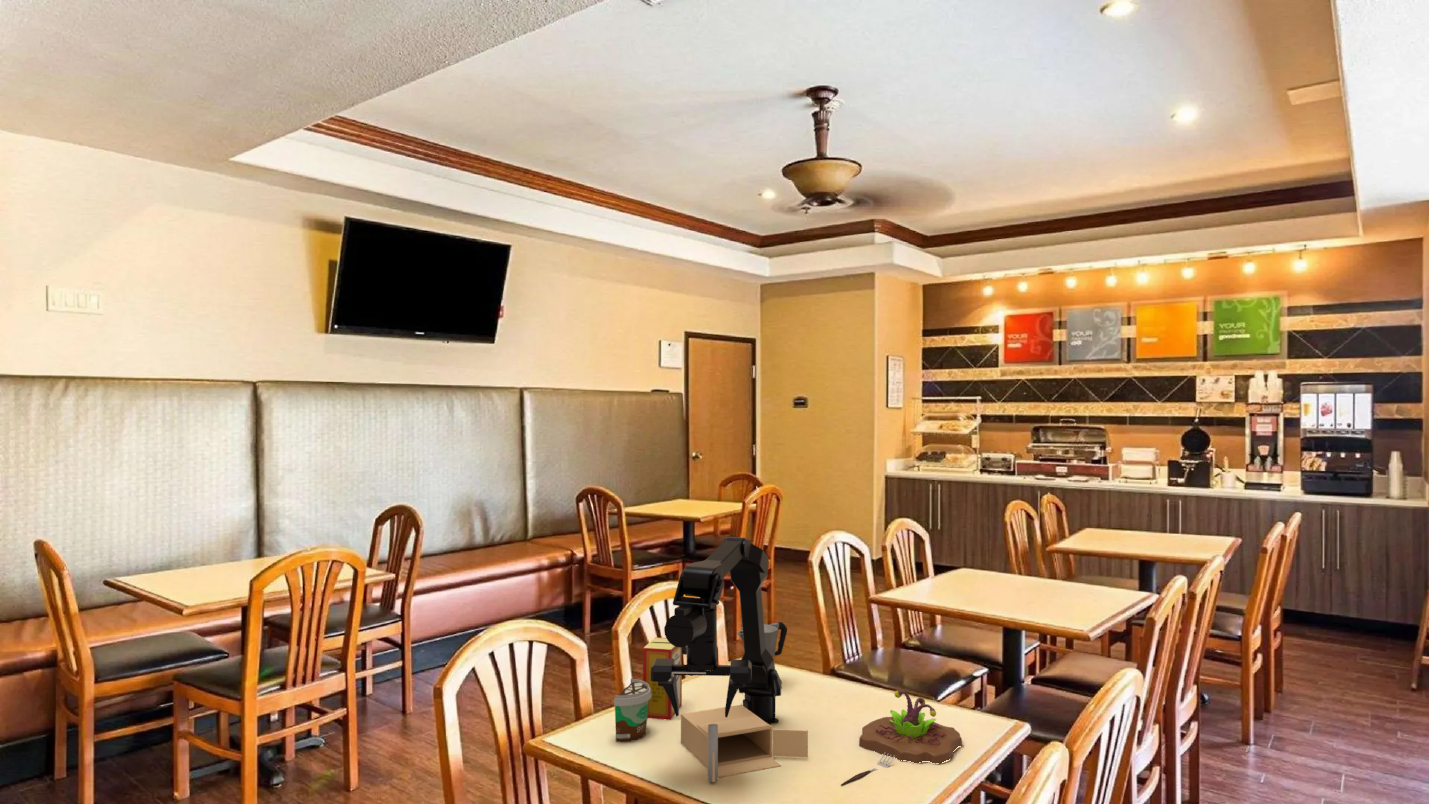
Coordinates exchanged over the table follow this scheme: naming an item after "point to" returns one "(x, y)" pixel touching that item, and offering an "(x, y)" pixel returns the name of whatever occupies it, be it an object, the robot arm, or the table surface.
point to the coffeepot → (772, 637)
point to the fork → (868, 770)
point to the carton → (740, 740)
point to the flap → (712, 752)
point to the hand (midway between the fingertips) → (701, 716)
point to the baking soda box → (659, 701)
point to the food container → (632, 711)
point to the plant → (910, 735)
